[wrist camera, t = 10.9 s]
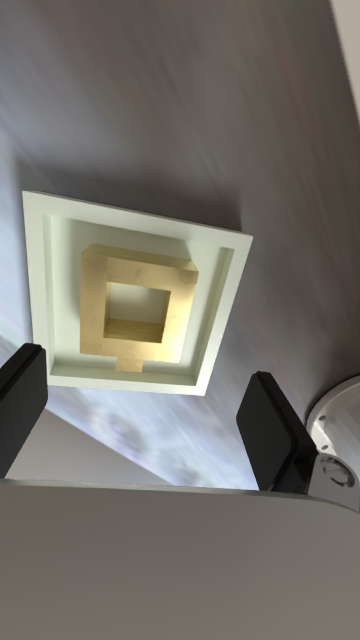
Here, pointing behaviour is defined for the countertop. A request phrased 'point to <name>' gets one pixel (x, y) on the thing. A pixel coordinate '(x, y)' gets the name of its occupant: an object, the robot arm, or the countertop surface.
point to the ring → (126, 335)
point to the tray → (126, 289)
